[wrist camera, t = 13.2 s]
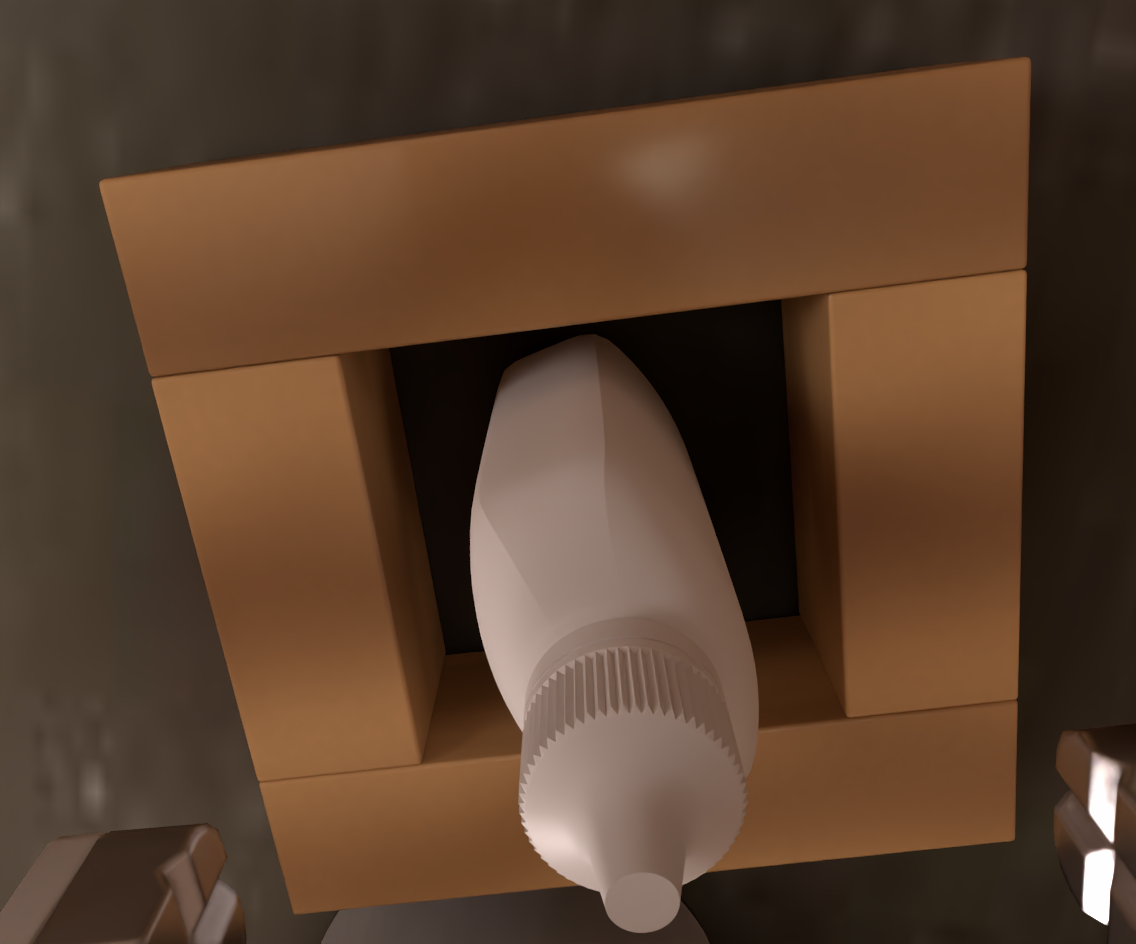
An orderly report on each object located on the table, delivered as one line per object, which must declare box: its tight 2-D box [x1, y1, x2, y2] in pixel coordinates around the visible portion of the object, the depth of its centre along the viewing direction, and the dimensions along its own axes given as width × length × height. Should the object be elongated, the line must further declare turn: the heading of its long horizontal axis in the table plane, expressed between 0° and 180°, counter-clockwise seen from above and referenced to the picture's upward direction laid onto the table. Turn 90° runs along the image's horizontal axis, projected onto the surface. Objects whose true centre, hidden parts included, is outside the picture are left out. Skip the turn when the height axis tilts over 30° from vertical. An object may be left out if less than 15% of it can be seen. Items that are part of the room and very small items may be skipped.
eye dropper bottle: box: [470, 334, 759, 933], centre depth 15 cm, size 4×6×12 cm
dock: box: [99, 57, 1031, 914], centre depth 19 cm, size 14×14×4 cm
